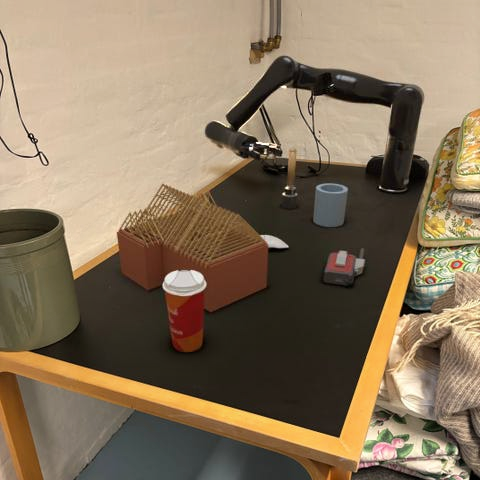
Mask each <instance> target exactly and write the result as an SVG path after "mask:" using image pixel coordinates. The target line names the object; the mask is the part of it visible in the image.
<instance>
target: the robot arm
mask: <svg viewBox="0 0 480 480" xmlns="http://www.w3.org/2000/svg"><path fill="white" fill-rule="evenodd" d="M325 72H331V77H332V82H333V84H334V87H335V88H336V89H338V91H336V92H333V93H329V94H323V95H322V96H323V97H326V98H329V99H332V100H336V101H340V102H344V103H349V104H359V105H378V106H382V107H386V108H389V109H390V112H389V119H388V124H387V125H388V126H387V137H386V143H385V150H384V156H383V162H382V167H381V175H380V180H379V185H378V189H379V190H380V191H381V192H385V193H391V194H402V193H405V192H407V190H408V184H409V181H410V180H409V179H410V173H411V168H412V163H413V162H412V161H413V157H414V153H415V147H416V141H417V137H418V131H419V123H420V118H421V114H422V107H423V105H424V103H425V93H424V91H423V89H422V88H421V87H420V86H418V85H417V84H414V83H405V82H404V83H403V82H393V81H387V80H383V79H380V78H377V77H374V76H370V75H367V74H363V73H359V72H356V71H353V70H347V69H343V68H342V69H341V68H331V67H329V68H325V67H324V68H319V67H313V66H310V65H308V64H304V63H301V62H298V61H296V60H295V59H294V58H292V57H291V56H289V55H279V56H278V57H276V58H275V59H274V60H273V62H272V63H271V64H270V65H269V66H268V67H267V68H266V70H265V72H264V73H263V75H262V76H261V77H260V78H259V79H258V80H257V82H256V83H255V84H254V86H253V87H251V88H250V90H249V91H248V92H247V93H246V94H245V95H244V96H243V97H241V99H240V100H238V101H237V102H236V103H235V104H234V105H233V106H232V107H231V108H230V109H229V110H228V111H227V112H226V114H225V120H226V122H227V123H228V126H227V125H225V124H224V123H222V122H220V121H218V120H212V121H210V122H207V124H206V125H205V127H204V135H205V137H206V139H207V140H208V141H209V142H210V143H212V144H213V145H214V146H216V147H217V148H218V149H219V150H223V149H225V150H227V151H230V152H232V153H233V154H235V156H238V157H239V158H241V159H244V160H247V159H249V160H250V159H253V160H255V161H261V156H270V155H273V156H276V157H278V158H282V157H283V150H282V149H280V145H279V144H276V143H272V142H269V141H268V142H266V143H263V142H260V141H259V139H258V138H257V137H256V136H254V135H252V134H249V133H246V132H244V131H240V130H241V128H242V127H243V126H244V125H246V124H247V123H248V122H249V121H250V120H251V119H252V118H254V116H255V115H256V114H257V112H258V111H259V109H260V108H261V107H262V105H263V104H264V103H265V101H266V100H268V98H269V97H270V96H271V95H273V94H274V93H275V92H276V91H278V90H280V88H283V89H291V90H292V89H293V90H302V91H309V92H312V91H313V89H312V88H313V86H314V84H315V81H316V78H317V77H318V76H319V75H320V74H322V73H325ZM340 89H341V90H340ZM265 151H266V152H265Z"/></svg>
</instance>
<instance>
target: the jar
mask: <svg viewBox="0 0 480 480" xmlns="http://www.w3.org/2000/svg"><path fill="white" fill-rule="evenodd" d="M348 191H349V188H348V187H347V186H345V185H343V184H339V183H331V182H330V183H321V184H318V185H316V187H315V196H314V205H313V206H314V207H313V217H312V220H313V223H314V224H316V225H317V226H320V227H324V228H336V227H341V226H343V225H344V222H345V217H346V216H345V214H346V208H347V200H348Z"/></svg>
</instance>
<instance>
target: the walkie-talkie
mask: <svg viewBox="0 0 480 480" xmlns="http://www.w3.org/2000/svg"><path fill="white" fill-rule="evenodd" d="M364 256H365V248H363V247H362V248H360V250H359V255H358V258H357V256H356V255H354V254H352V253H351V254H349V251H347V250H338V252H336V251H335V252H330V253H329V255H328V258H327V261H326V265H325V268H324V271H323V277H322V278H323V280H322V281H323V282H324V283H326V284H330V285H337V286H345V287H347V286H352V285H353V284H354V279H355V277H357V276H359V275H361V274H363V271H364V268H365V263H366V259H364Z"/></svg>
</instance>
